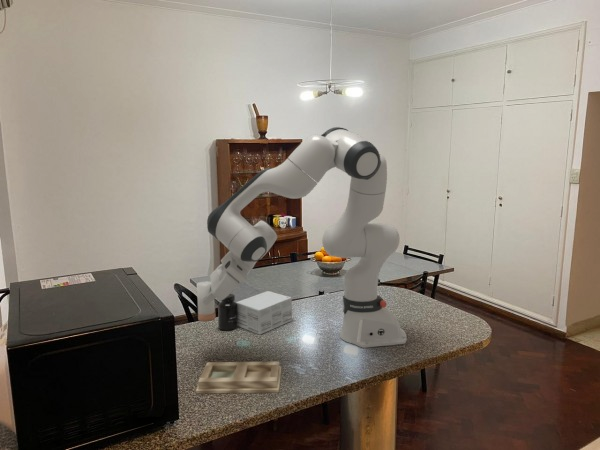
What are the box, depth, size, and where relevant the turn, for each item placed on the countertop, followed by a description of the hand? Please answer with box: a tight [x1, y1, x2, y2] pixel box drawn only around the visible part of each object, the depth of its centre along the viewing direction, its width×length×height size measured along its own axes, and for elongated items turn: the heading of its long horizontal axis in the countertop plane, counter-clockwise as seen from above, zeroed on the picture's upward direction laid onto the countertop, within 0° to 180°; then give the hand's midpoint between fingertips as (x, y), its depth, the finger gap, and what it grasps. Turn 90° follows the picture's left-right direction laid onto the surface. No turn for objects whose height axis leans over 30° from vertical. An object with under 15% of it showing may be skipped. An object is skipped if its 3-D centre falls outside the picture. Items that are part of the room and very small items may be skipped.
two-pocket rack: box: [195, 361, 282, 394], centre depth 123 cm, size 22×13×3 cm, turn 89°
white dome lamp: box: [196, 280, 217, 322], centre depth 134 cm, size 5×5×11 cm
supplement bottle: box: [217, 293, 238, 331], centre depth 160 cm, size 7×7×12 cm
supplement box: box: [235, 290, 293, 335], centre depth 163 cm, size 17×13×9 cm
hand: (204, 299), depth 134 cm, fingers closed on white dome lamp, 5 cm apart
